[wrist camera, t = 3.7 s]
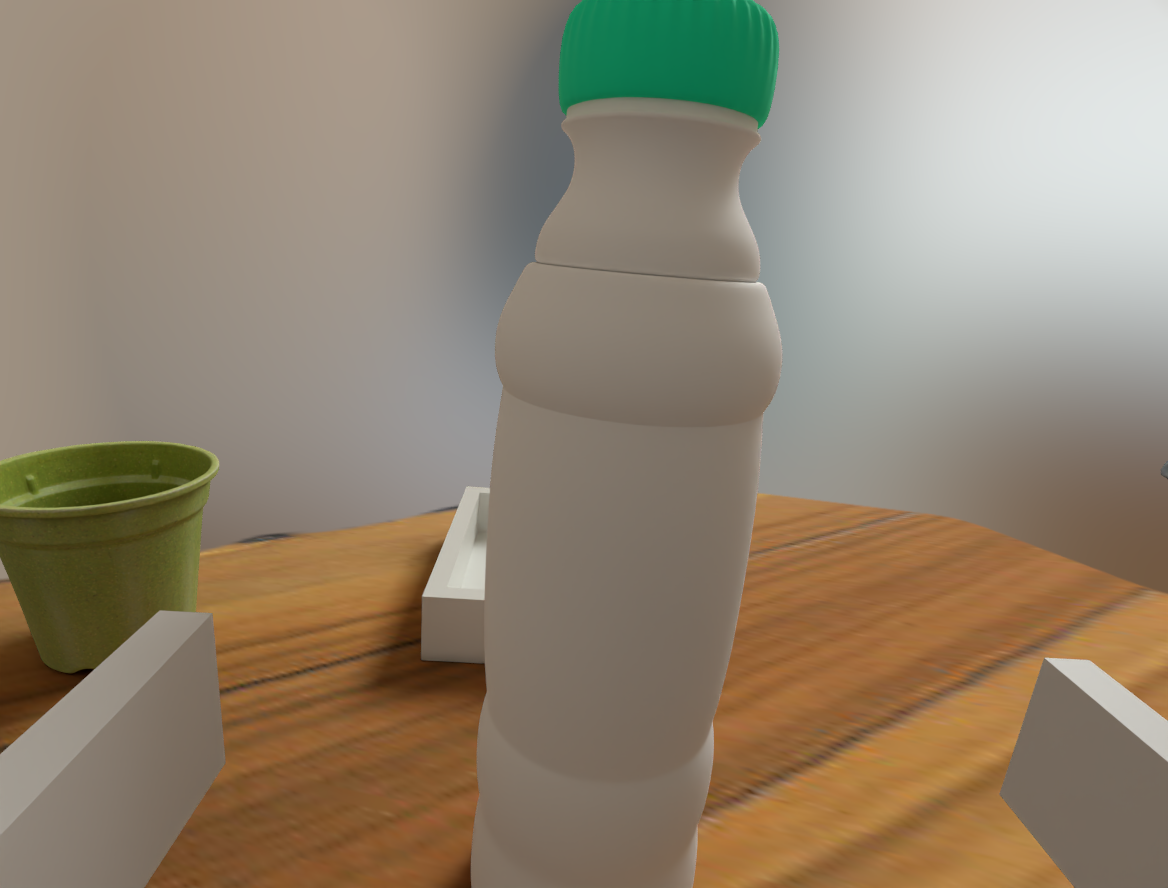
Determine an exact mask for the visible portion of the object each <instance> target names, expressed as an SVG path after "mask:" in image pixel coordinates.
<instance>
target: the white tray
mask: <svg viewBox="0 0 1168 888" xmlns="http://www.w3.org/2000/svg"><path fill="white" fill-rule="evenodd" d="M489 496H490V488H482V487H468V486H467V488H466V490H465V492H464V495H463V497H462V500H461V502H460V505H459V507H458V509H457V512H456V514H455V517H454V519H453V522H452V524H451V527H450V529H449V532H448V534H447V536H446V539H445V541H444V544H443V546H442V549H441V551H440V554H439V556H438V559H437V561H436V563H435V566H434V568H433V571H432V573H431V576H430V578H429V581H428V583H427V585H426V588H425V590H424V593H423V595H422V629H421V660H429V661H447V662H465V663H484V664H485V651H484V600H485V568H486V545H487V527H488V510H489Z"/></svg>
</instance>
